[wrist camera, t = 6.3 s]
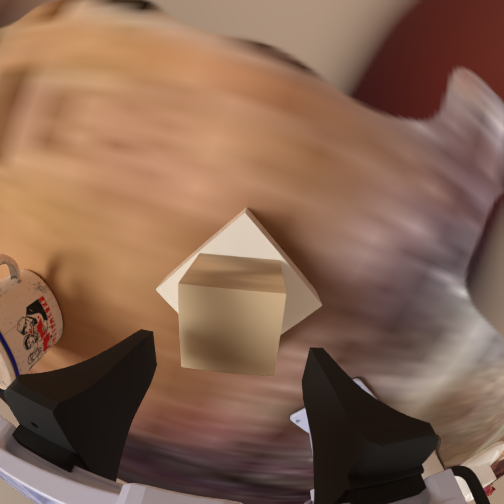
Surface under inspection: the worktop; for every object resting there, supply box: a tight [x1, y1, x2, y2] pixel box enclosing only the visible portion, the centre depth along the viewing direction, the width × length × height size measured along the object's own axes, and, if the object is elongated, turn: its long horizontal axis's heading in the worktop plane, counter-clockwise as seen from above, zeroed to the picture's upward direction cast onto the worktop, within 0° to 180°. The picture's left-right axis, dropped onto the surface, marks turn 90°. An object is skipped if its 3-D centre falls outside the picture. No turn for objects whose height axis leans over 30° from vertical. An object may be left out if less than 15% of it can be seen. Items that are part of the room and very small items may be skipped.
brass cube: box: [178, 253, 287, 376], centre depth 16 cm, size 5×5×5 cm
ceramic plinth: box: [156, 207, 322, 335], centre depth 20 cm, size 8×8×3 cm
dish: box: [455, 441, 504, 503], centre depth 29 cm, size 25×25×11 cm
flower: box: [483, 482, 495, 496], centre depth 38 cm, size 10×9×8 cm
